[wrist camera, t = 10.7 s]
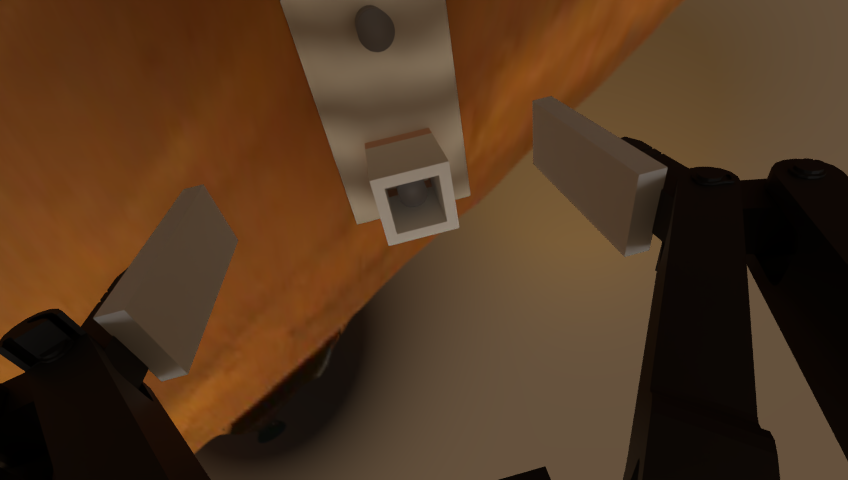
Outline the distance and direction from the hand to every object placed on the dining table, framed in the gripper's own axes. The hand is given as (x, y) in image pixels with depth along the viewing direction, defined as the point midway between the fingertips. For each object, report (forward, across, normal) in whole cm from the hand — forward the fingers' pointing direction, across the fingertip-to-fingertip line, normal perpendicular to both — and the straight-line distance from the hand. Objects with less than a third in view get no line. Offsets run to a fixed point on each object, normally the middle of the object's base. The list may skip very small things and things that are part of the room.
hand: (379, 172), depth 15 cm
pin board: (+21, +2, -3) cm, 21 cm away
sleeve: (+19, +2, -9) cm, 21 cm away
